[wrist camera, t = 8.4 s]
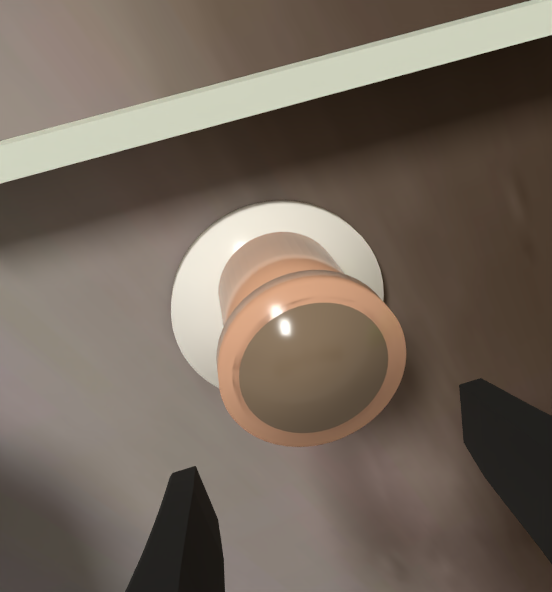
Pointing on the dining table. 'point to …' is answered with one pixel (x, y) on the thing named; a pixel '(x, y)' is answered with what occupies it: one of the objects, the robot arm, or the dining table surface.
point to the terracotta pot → (303, 344)
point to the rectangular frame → (272, 89)
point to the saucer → (226, 241)
